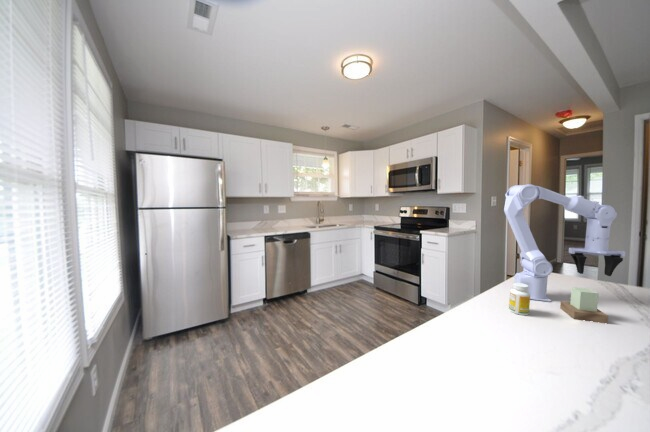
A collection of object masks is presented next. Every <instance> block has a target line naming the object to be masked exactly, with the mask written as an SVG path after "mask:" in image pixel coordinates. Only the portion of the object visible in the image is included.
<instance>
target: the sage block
mask: <svg viewBox="0 0 650 432" xmlns="http://www.w3.org/2000/svg"><path fill="white" fill-rule="evenodd" d="M598 300H599V292H597V291H595V290H592V289H590V288H589V287H587V288H586V287H577V286H576V287H575V286H571V291H570V301H569V302H570V304H571V305H572V306H574V307H576V308H577V309H579V310H585V311H595V312H597V309H598V303H599V301H598Z"/></svg>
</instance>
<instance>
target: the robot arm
mask: <svg viewBox="0 0 650 432" xmlns="http://www.w3.org/2000/svg"><path fill="white" fill-rule="evenodd" d="M540 199H542V200H545V201H548V202H551V203H554V204H557V205H561V206H563V208H564V210H566V211H567V212H571V213H574V214H575V215H580V216H582V217H584V218H585V219H587V220H586V230H585V241H584V247H569V248H568V253H569V254H570V256H571V258H572V260H573V262H574V264H575V267H576V270H577V274H580V275H582V274H584V272H585V263H586V261H587V259H588V258H587V256H585V255H592V256H603V259H604V275H605V276H608V277H612V275H613V272H614V271H615V269H616V268H617V267H618V265H620V263H621V264H622V262H623V261H624V258H625V257H626V251H624V250H618V249H617V250H616V249H609V244H610V235H611V234H610V233H611V225H613V221H614V220H615V219H616V218H617V216H618V213H617V212H616V210H615V208H614V207H613V206H611V205H609V204H600V203H599V201H597V200H593V201H592V200H589V199H586V198H585V196H584V195H574V196H573V195H572V196H570V197H569V196H567V195H564V194H561V193H560V192H559V193H558V192H556V191H553V190H551V189H548V188H545V187H543V186H539V185H534V184H531V183H528V184H515V185H512V186H510V187H509V188H508V189H507V192H505V202H504V208H503V212H504V214H505V216H506V219H507V221H508V224H509V226H510V228H511V231H512V233H513V234H514V235H513V236H514V238H515V240H516V242H517V244H518V248H520V251H521V252H520V253H519V256H520V265H521V267H522V268H523V269H522V270H523V271H522V272H516V273H515V275H514V282H513V283H523V284H526V285H528V290H527V291H528V292H529V293H530V300H535V301H541V302H543V301H544V302H550V303H551V302H552V299H550V298H549V297H547V290H548V277H549V276H550V275H551V274H552V272H553V265H552V263H551V262H550V261H549V260H547V258H546V256H545V255H544V254H543V253H542V251H540V249H539V247H538V244H537V243H536V240H535V238H534V235H533V233H532V231H531V229H530V226H529V224H528V222H527V219H526V217H525V214H524V212H523V211H524V209H526V207H527V206H528V205H530V204H531V203H532V202H533V201H535V200H540Z"/></svg>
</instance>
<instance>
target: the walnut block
mask: <svg viewBox="0 0 650 432" xmlns="http://www.w3.org/2000/svg"><path fill="white" fill-rule="evenodd" d="M570 302H571V301H562V300H561V301H560V308H559V309H561V310H562V311H563V312H564V313H566V315H568V316H569V317H570V318H571V319H573V320H575V321H576V320H577V321H583V320H585V322H590V321H593V322H592V323H598V322H599V324H605V323H607V324H608V322H609V321H608V320H609V315H608V314H606V313H605V312H604V311H601V310H600V309H598V308H597V312H595V311H585V310H579V309H577V308H576V307H574V306H572V305H571V304H570Z"/></svg>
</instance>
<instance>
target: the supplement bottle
mask: <svg viewBox="0 0 650 432" xmlns="http://www.w3.org/2000/svg"><path fill="white" fill-rule="evenodd" d="M512 287H513V288H510V290H509V303H508V310H509V311H510V312H511V313H513V314H515V315H518V316H519V315H520V316H528V315H529V313H530V306H531V305H530V304H531V299H530V293H529V292H528V291H527V290H528V285H526V284H523V283H514V282H513V283H512Z"/></svg>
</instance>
